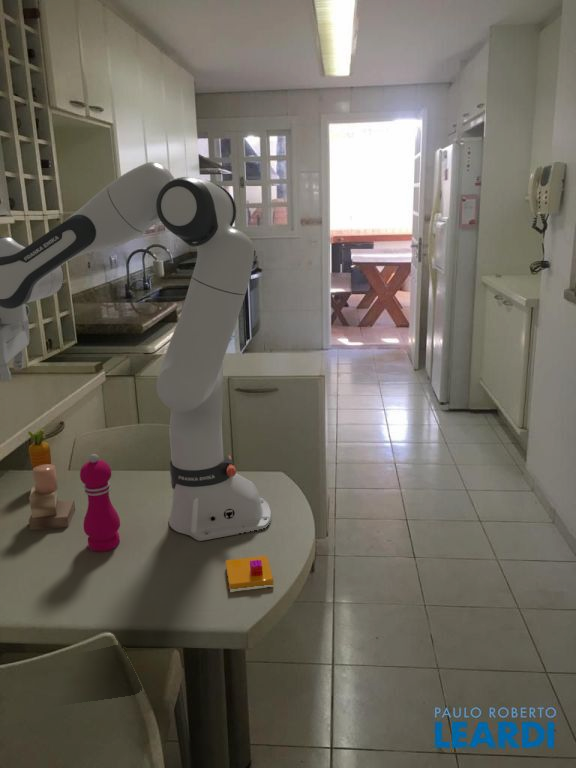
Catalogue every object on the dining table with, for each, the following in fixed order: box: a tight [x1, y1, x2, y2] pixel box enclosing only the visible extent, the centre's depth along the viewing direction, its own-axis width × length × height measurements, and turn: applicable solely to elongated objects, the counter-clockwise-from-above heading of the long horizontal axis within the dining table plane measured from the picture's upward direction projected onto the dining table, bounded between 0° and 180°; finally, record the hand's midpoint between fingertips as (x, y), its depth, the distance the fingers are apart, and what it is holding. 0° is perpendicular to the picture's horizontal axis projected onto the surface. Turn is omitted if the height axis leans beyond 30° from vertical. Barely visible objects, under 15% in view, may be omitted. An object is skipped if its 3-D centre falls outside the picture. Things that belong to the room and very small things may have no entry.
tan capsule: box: [32, 463, 59, 494], centre depth 137 cm, size 5×5×5 cm
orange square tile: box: [225, 555, 274, 590], centre depth 117 cm, size 8×8×4 cm
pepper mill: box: [79, 453, 121, 553], centre depth 127 cm, size 7×7×20 cm
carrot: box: [27, 428, 52, 469], centre depth 155 cm, size 5×5×15 cm
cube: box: [28, 486, 59, 518], centre depth 138 cm, size 5×5×5 cm
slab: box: [28, 499, 76, 531], centre depth 140 cm, size 8×8×3 cm
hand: (13, 374), depth 140 cm, fingers open, 8 cm apart
